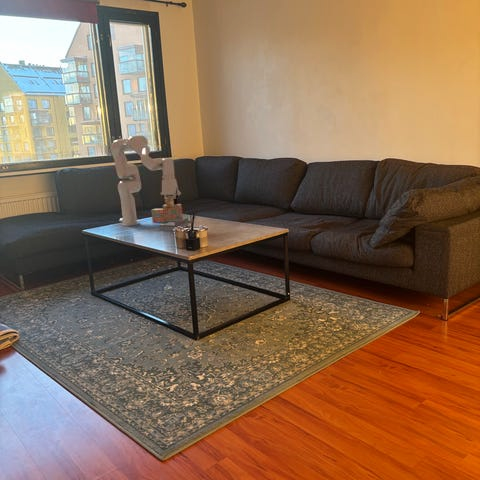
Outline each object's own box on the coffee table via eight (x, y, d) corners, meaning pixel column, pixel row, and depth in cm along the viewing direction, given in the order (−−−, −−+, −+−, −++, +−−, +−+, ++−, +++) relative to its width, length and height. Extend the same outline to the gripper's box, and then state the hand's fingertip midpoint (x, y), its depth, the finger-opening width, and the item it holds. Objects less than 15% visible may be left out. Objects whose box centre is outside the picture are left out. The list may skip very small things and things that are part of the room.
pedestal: (165, 208, 324) (164, 197, 322) (170, 206, 329) (169, 196, 327) (173, 208, 321) (172, 197, 320) (178, 206, 327) (177, 196, 325)
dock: (158, 230, 324) (157, 222, 323) (171, 225, 338) (170, 217, 337) (176, 230, 318) (176, 222, 317) (188, 225, 333) (188, 217, 331)
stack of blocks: (152, 222, 353) (150, 205, 351) (155, 221, 359) (153, 204, 357) (180, 222, 349) (178, 205, 346) (183, 220, 355) (181, 203, 352)
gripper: (154, 178, 321) (157, 205, 325) (177, 177, 314) (180, 205, 318) (160, 176, 327) (163, 203, 332) (183, 176, 321) (185, 203, 325)
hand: (171, 204), depth 325 cm, fingers closed on pedestal, 5 cm apart
